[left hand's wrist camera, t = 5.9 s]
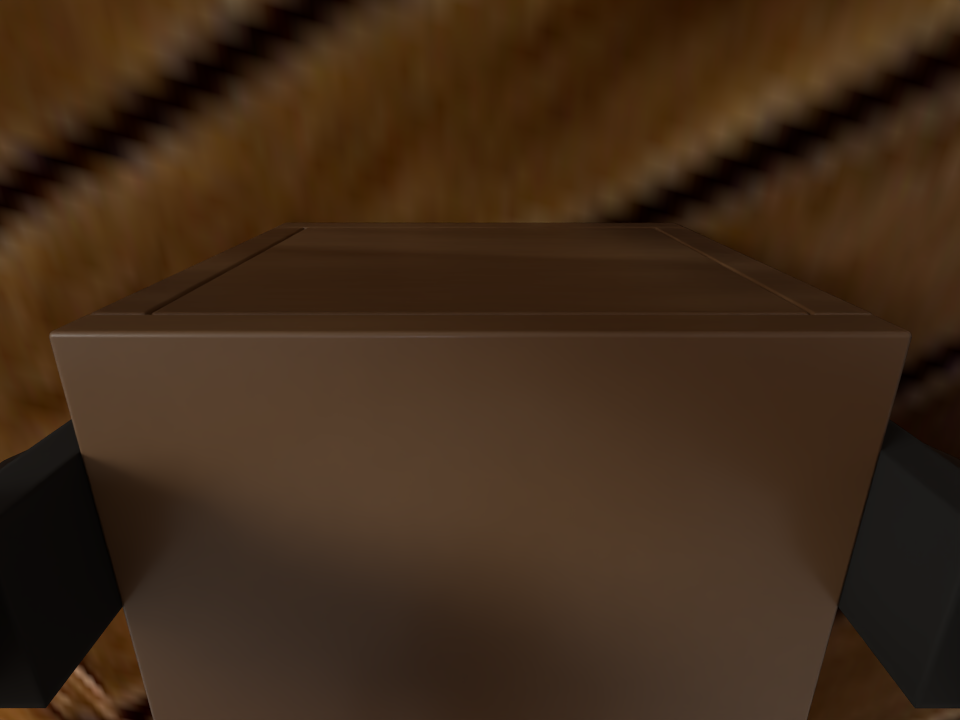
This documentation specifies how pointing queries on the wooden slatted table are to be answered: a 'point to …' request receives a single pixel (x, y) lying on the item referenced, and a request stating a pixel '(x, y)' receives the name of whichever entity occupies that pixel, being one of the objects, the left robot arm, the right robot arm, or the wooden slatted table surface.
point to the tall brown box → (480, 473)
